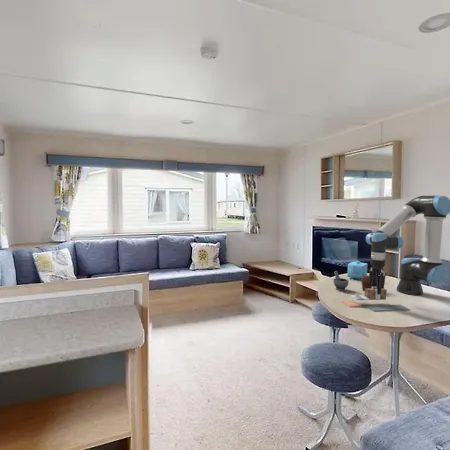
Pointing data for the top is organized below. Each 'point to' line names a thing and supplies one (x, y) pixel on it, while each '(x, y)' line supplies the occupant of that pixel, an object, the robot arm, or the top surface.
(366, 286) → the muffin
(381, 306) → the tool mat
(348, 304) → the tile
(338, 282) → the mortar and pestle
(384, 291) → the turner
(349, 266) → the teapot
